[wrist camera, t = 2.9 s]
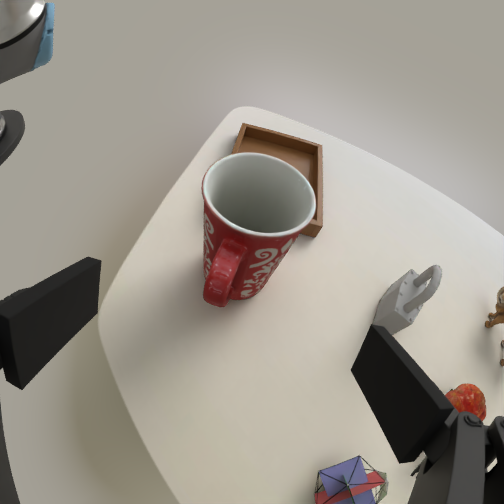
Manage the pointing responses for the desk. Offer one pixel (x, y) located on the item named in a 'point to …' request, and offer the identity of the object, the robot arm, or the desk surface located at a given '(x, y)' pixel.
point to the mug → (250, 222)
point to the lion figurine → (498, 314)
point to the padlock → (406, 299)
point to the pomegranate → (468, 400)
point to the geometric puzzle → (350, 484)
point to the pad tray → (288, 161)
